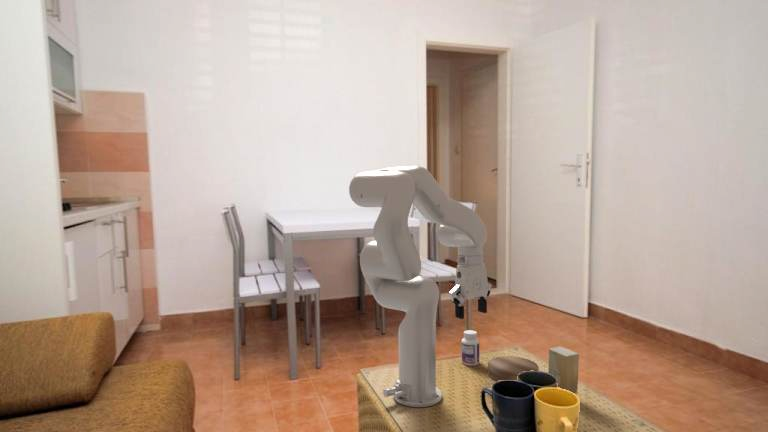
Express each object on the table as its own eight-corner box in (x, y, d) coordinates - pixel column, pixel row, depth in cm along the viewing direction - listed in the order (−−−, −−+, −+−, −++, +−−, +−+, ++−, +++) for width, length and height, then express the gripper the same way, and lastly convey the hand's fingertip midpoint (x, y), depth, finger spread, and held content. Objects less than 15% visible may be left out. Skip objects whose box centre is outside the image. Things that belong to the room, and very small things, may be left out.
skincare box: (547, 394, 122) (547, 348, 121) (559, 390, 123) (559, 345, 123) (566, 404, 116) (566, 355, 115) (578, 400, 118) (579, 353, 117)
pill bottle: (471, 358, 148) (471, 328, 147) (483, 364, 143) (483, 332, 143) (458, 362, 145) (457, 331, 144) (469, 367, 140) (469, 335, 140)
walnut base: (516, 389, 124) (516, 378, 124) (477, 373, 136) (477, 362, 136) (548, 377, 132) (548, 366, 132) (510, 362, 144) (510, 353, 144)
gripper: (458, 265, 134) (459, 323, 136) (499, 258, 144) (499, 312, 145) (440, 262, 141) (441, 317, 142) (481, 255, 150) (482, 307, 152)
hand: (471, 315), depth 144 cm, fingers open, 9 cm apart
